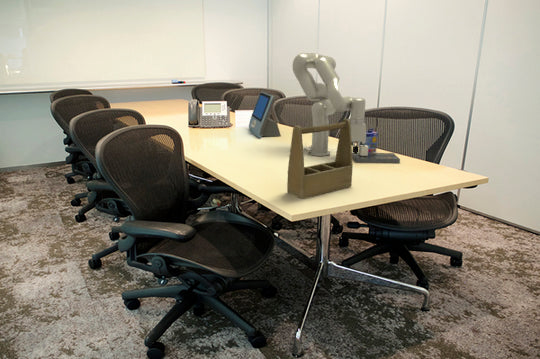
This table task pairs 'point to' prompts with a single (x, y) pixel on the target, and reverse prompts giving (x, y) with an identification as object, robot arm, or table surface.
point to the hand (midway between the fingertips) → (355, 153)
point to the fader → (363, 150)
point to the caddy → (322, 175)
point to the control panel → (376, 158)
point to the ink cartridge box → (371, 141)
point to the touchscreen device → (263, 117)
